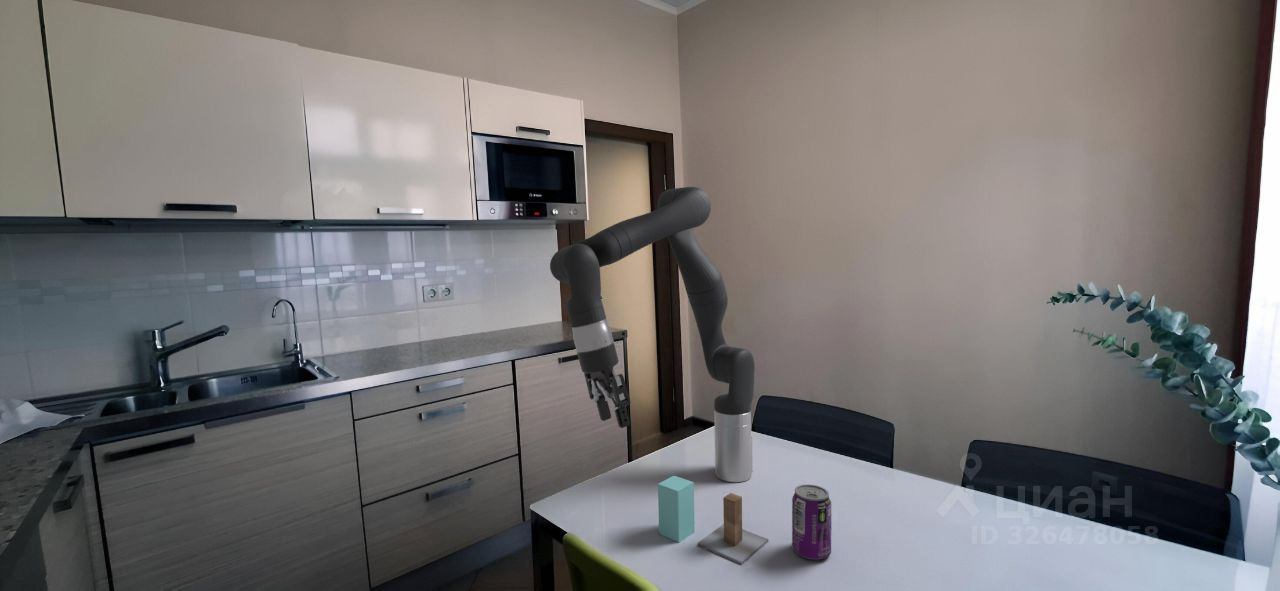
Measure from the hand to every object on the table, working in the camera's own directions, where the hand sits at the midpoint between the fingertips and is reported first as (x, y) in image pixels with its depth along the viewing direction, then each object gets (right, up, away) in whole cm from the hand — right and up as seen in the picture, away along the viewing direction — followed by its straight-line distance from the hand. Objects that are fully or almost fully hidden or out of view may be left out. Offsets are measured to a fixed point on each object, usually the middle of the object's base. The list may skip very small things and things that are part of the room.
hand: (615, 422), depth 105 cm
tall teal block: (+13, -24, +3) cm, 27 cm away
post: (+23, -24, -1) cm, 33 cm away
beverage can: (+38, -24, -5) cm, 45 cm away
